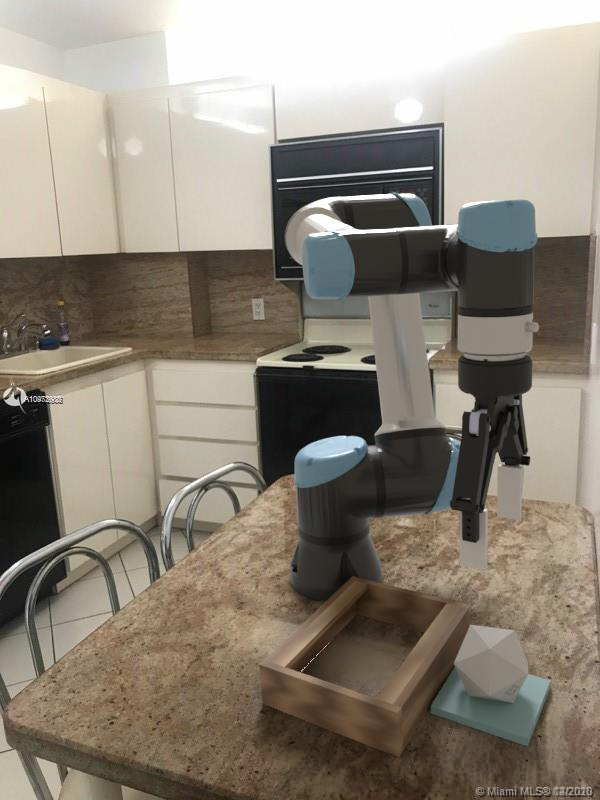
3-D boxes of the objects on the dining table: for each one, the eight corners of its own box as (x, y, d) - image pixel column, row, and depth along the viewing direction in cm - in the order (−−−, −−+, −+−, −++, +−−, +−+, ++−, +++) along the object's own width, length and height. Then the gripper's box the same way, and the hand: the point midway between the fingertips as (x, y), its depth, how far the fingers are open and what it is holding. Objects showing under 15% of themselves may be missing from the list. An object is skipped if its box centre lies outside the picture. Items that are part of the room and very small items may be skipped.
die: (498, 733, 73) (548, 663, 72) (433, 680, 76) (480, 612, 75) (501, 710, 81) (546, 646, 80) (441, 663, 84) (485, 601, 83)
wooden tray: (262, 704, 81) (259, 664, 79) (354, 609, 100) (352, 576, 99) (399, 757, 71) (397, 713, 70) (470, 641, 91) (470, 604, 89)
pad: (431, 713, 77) (430, 706, 77) (462, 661, 86) (462, 655, 86) (527, 746, 71) (527, 738, 71) (550, 687, 80) (550, 680, 80)
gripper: (496, 380, 57) (493, 600, 62) (557, 336, 78) (552, 505, 83) (414, 375, 61) (418, 583, 66) (493, 335, 82) (491, 496, 87)
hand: (492, 540), depth 74 cm, fingers open, 13 cm apart
